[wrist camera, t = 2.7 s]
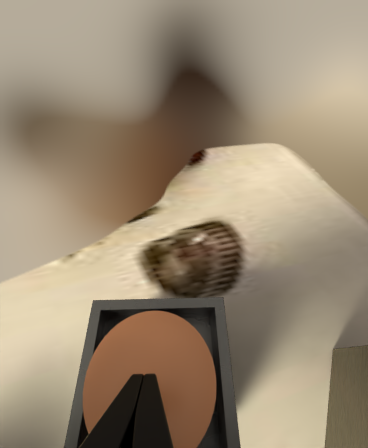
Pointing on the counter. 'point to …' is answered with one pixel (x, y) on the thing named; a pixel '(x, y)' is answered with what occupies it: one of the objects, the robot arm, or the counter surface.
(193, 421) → the orange button
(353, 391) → the teal button housing
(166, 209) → the counter surface
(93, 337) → the orange button housing
